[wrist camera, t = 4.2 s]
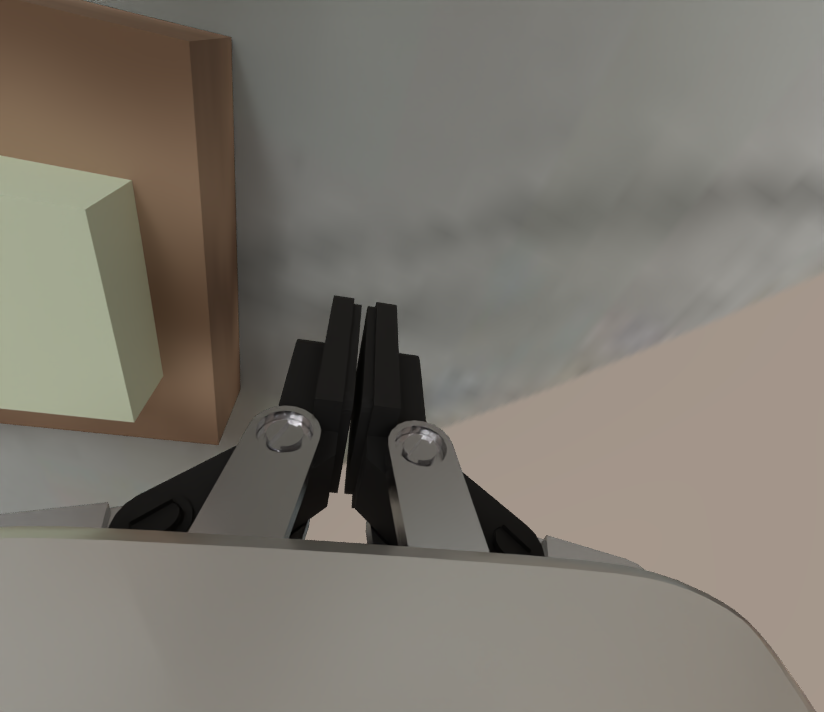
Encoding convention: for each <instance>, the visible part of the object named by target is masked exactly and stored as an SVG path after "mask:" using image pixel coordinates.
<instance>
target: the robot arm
mask: <svg viewBox="0 0 824 712" xmlns="http://www.w3.org/2000/svg"><path fill="white" fill-rule="evenodd" d="M361 307H362V305H358V304H354V298H348V297H341V296H335V295H334V298H333V303H332V309H331V314H330V319H329V325H328V330H327V335H326V341H325V343H323V342H316V341H309V340H302V339H298V340H297V342H296V345H295V348H294V352H293V356H292V359H291V363H290V366H289V370H288V374H287V377H286V381H285V384H284V388H283V392H282V395H281V399H280V402H279V406H276V407H272V408H269V409H266V410H264V411H262V412H261V413H259V414H257V415H256V416H255V417H254V418H253V420H252V421H251V422H250V423H249V425H248V427H247V429H246V430H245V432H244V434H243V436H242V437H241V439H240V441H239V443H238V445H236V446H235V447H233V448H231V449H229V450H227V451H225V452H223V453H221V454H219V455H217V456H215V457H213V458H211V459H209V460H207V461H205V462H203V463H201V464H199V465H197V466H195V467H193V468H191V469H189V470H187V471H185V472H183V473H181V474H179V475H177V476H175V477H173V478H171V479H169V480H167V481H165V482H163V483H161V484H159V485H157V486H155V487H153V488H152V489H150V490H148V491H146V492H144V493H142V494H140V495H138V496H136V497H135V498H133V499H132V500H130V501H129V502H127V503H126V504H125V505H124V506H120V507H111V508H110V507H109V504H108V502H105V503H96V504H87V505H78V506H69V507H60V508H51V509H42V510H33V511H23V512H14V513H5V514H0V712H816V711H815V709H814V708H813V706H812V704H811V703H810V701H809V700H808V698H807V697H806V695H805V694H804V692H803V691H802V689H801V688H800V687H799V685H798V684H797V682H796V681H795V680H794V678H793V677H792V675H791V674H790V672H789V671H788V669H787V668H786V667H785V665H784V664H783V662H782V661H781V660H780V658H779V657H778V656H777V654H776V653H775V652H774V650H773V649H772V648H771V646H770V645H769V644H768V643H767V642H766V640H765V639H764V638H763V637H762V636H761V634H760V633H759V632H758V631H757V630H756V629H755V628H754V627H753V626H752V625H751V624H750V623H749V622H748V621H747V620H746V619H745V618H744V617H742V616H741V615H740V614H739V613H738V612H736V611H735V610H734V609H732V608H731V607H729V606H728V605H726V604H725V603H723V602H721V601H719V600H718V599H716V598H714V597H712V596H711V595H709V594H707V593H705V592H703V591H700V590H698V589H696V588H694V587H692V586H689V585H687V584H685V583H683V582H680V581H678V580H675V579H672V578H669V577H666V576H663V575H660V574H657V573H654V572H650V571H646V570H644V569H643V568H642V567H641V566H639V565H638V564H636V563H634V562H631V561H629V560H627V559H624V558H621V557H617V556H614V555H611V554H608V553H604V552H601V551H598V550H594V549H591V548H588V547H584V546H581V545H577V544H574V543H571V542H568V541H564V540H561V539H557V538H554V537H551V536H548V535H546V537H545V538H544V539H540V538H537V536H536V535H535V533H534V532H533V531H532V530H531V529H530V528H529V527H528V526H527V525H526V524H524V523H523V522H522V521H521V520H520V519H518V518H517V517H516V516H515V515H514V514H512V513H511V512H510V511H509V510H508V509H506V508H505V507H504V506H503V505H501V504H500V503H499V502H498V501H497V500H495V499H494V498H493V497H492V496H491V495H489V494H488V493H487V492H486V491H485V490H483V489H482V488H481V487H480V486H478V485H477V484H476V483H475V482H474V481H473V480H471V479H470V478H469V477H468V476H466V475H465V474H464V473H463V472H462V470H461V467H460V464H459V461H458V458H457V455H456V452H455V449H454V447H453V444H452V442H451V440H450V438H449V437H448V436H447V435H446V434H445V433H444V432H443V431H442V430H441V429H440V428H438V427H436V426H435V425H433V424H430V423H427V422H426V417H425V407H424V398H423V388H422V378H421V368H420V360H419V357H418V356H416V355H409V354H402V353H399V348H398V324H397V305H392V304H386V303H379V302H376V306H375V307H370V306H368V308H367V313H366V319H365V325H364V330H363V336H362V342H361V347H360V353H359V359H358V365H357V355H358V343H359V331H360V319H361ZM356 367H357V370H356ZM350 420H351V422H350ZM349 426H350V433H349V445H348V456H347V468H346V479H345V494H353V496H352V508H355V509H356V510H357V511H358V512H359V513H360V514H361V515H362V516H363V517H364V518H365V519H366V520H367V522H366V537H367V544H361V543H346V542H330V541H315V540H305V537H306V534H307V531H308V528H309V522H310V518H312V517H313V516H314V515H316V514H317V513H319V512H320V511H321V510H323V509H324V508H326V507H327V504H328V498H329V492H332V493H333V492H334V493H337V492H338V487H339V481H340V476H341V470H342V465H343V459H344V453H345V448H346V442H347V437H348V431H349Z"/></svg>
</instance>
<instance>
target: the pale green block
mask: <svg viewBox="0 0 824 712" xmlns="http://www.w3.org/2000/svg"><path fill="white" fill-rule="evenodd" d="M162 377H163V371H162V365H161V359H160V352H159V346H158V340H157V334H156V327H155V321H154V315H153V309H152V303H151V296H150V290H149V284H148V278H147V271H146V265H145V259H144V253H143V246H142V240H141V234H140V228H139V222H138V215H137V209H136V203H135V197H134V190H133V184H132V180H128V179H123V178H117V177H112V176H107V175H101V174H96V173H91V172H86V171H80V170H75V169H70V168H64V167H59V166H54V165H48V164H43V163H38V162H33V161H27V160H22V159H17V158H11V157H6V156H1V155H0V408H1V409H10V410H20V411H29V412H39V413H48V414H58V415H67V416H77V417H87V418H96V419H106V420H115V421H125V422H135V420H136V419H137V417H138V416H139V414H140V412H141V411H142V409H143V408H144V406H145V404H146V403H147V401H148V400H149V398H150V396H151V395H152V393H153V392H154V390H155V388H156V387H157V385H158V384H159V382H160V380H161V379H162Z"/></svg>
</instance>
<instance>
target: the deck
mask: <svg viewBox="0 0 824 712" xmlns="http://www.w3.org/2000/svg"><path fill="white" fill-rule="evenodd" d="M0 155H1V156H6V157H11V158H17V159H22V160H27V161H33V162H38V163H43V164H48V165H54V166H59V167H64V168H70V169H75V170H80V171H86V172H91V173H96V174H101V175H107V176H112V177H117V178H123V179H128V180H132V184H133V190H134V197H135V203H136V209H137V215H138V222H139V228H140V234H141V240H142V246H143V253H144V259H145V265H146V271H147V278H148V284H149V290H150V296H151V303H152V309H153V315H154V321H155V327H156V334H157V340H158V346H159V352H160V359H161V365H162V371H163V377H162V379H161V380H160V382H159V384H158V385H157V387H156V388H155V390H154V392H153V393H152V395H151V396H150V398H149V400H148V401H147V403H146V404H145V406H144V408H143V409H142V411H141V412H140V414H139V416H138V417H137V419H136V420H135V422H125V421H115V420H106V419H96V418H87V417H77V416H67V415H58V414H48V413H39V412H29V411H20V410H10V409H1V408H0V423H3V424H13V425H23V426H33V427H43V428H53V429H63V430H73V431H83V432H93V433H103V434H113V435H123V436H133V437H143V438H153V439H163V440H173V441H183V442H193V443H203V444H213V445H219V442H220V440H221V437H222V435H223V432H224V429H225V427H226V424H227V422H228V419H229V417H230V414H231V412H232V409H233V407H234V404H235V402H236V399H237V397H238V394H239V391H240V355H239V316H238V277H237V238H236V199H235V160H234V121H233V82H232V43H231V37H228V36H224V35H220V34H216V33H212V32H208V31H204V30H200V29H196V28H192V27H188V26H184V25H180V24H176V23H172V22H168V21H164V20H160V19H156V18H152V17H147V16H143V15H139V14H135V13H131V12H127V11H123V10H119V9H115V8H111V7H107V6H103V5H99V4H95V3H91V2H87V1H83V0H0Z"/></svg>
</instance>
